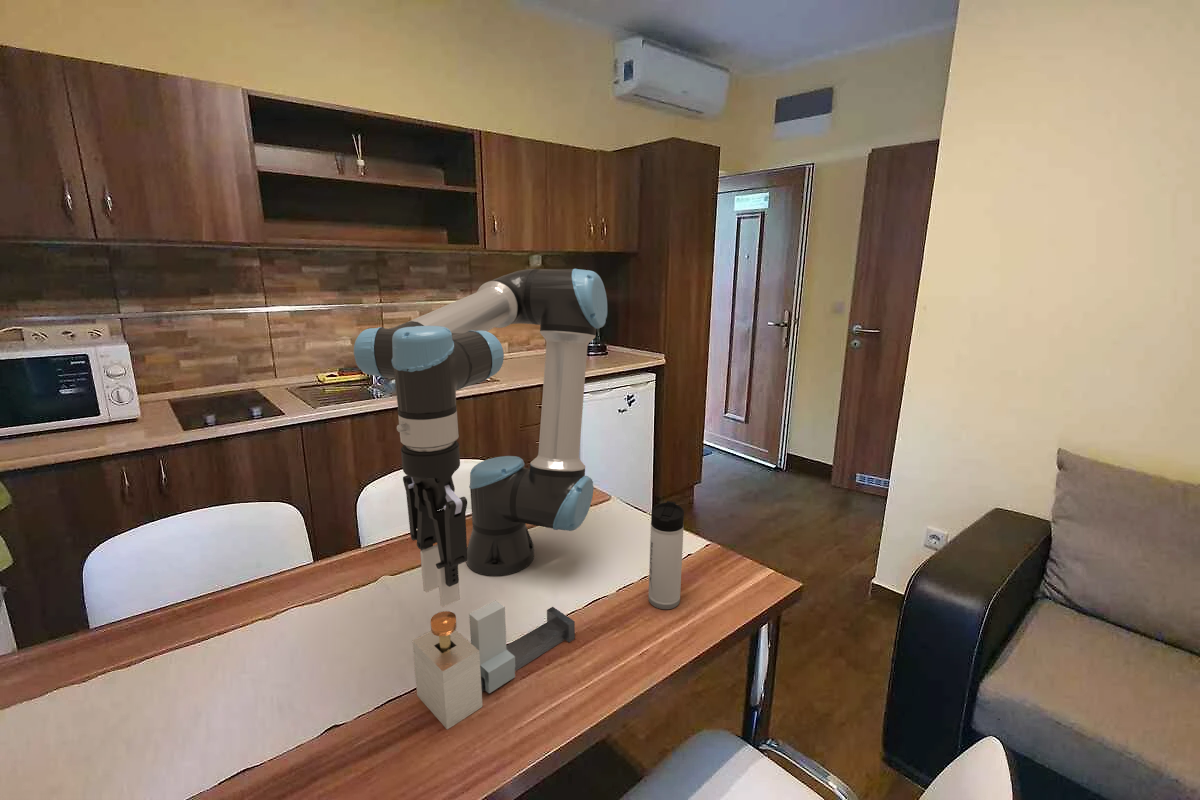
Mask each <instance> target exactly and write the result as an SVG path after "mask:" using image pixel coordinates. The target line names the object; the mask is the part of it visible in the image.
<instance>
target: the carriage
mask: <svg viewBox="0 0 1200 800" xmlns="http://www.w3.org/2000/svg"><path fill="white" fill-rule="evenodd" d="M505 608H506V606H504V605H503V604H502V603H500V602H499V601H498V600H496V599H495V600H494V601H491V602H489V603H488V604H486V605H483V606H482V607H480V608H478V609H475V610H474V611H472V612H470V613H468V615H469V617H468V618H469V619H468V620H469V630H470V631H469V632H470V635H469V636H470V643H471V644H472V645H474V646H475V647H476V648H477V649H478V650H479V654H480V671H481V676H482V677H483V678H484V679H485V692H486V693H488V694H491V693H492V692H494V691H496V690H497V689H498V688H500V687H503V686H504V685H505V684H506V683H508V682H509V681H511V680H513V679H515V678H516V671H515V656H514V655H512V654H511V653H510V652H509V651H508V650H507V649H506V646H507V631H506V611H505V610H506V609H505Z"/></svg>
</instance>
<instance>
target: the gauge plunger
mask: <svg viewBox="0 0 1200 800" xmlns="http://www.w3.org/2000/svg"><path fill="white" fill-rule="evenodd" d="M457 627H458V626H457V616H456V613H455V612H453V611H449V610H446V611H440V612H437V613H435V614H434V615H433V616H431V618H430V629H431V630H430V631H431V632H432V633H433V634H434V635H436V636H439V644H440V652H441V653H444V652H446V651H448V650H449V649H451V640H450V634H451V633H453V632H454V631H455V630H456V629H457Z"/></svg>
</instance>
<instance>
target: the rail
mask: <svg viewBox="0 0 1200 800" xmlns="http://www.w3.org/2000/svg"><path fill="white" fill-rule="evenodd" d="M575 624H576V623H575V620H573V619H571V618H570V617H569V616H567V615H566V614H564V613H563V612H562V611H560V610H559V609H557V608H556V607H554V606H551V607H550V608H548V609H546V622H544V623H542V624H541V625H540V626H538V627H536V628H535V629H532V630H531V631H529V632H527V633H526V634H524V635H522V636H521V637H519V638H517V639H515V640H513V641H512V642H511V643H509V644H508V643H507V644H506V649H507V650H508V651H509V652H510V653H511V654H512V655H514V656H515V672H516V671H518V670H519V669H521V668H523V667H525V666H526V665H527V664H529V663H531V662H532V661H534V660H535V659H537V658H538V657H541V656H542V655H544V654H545V653H547V652H549V651H550V650H552V649H553V648H555V647H556V646H557V645H559V644H561V643H563V642H564V641H566V642H568V643H570V642H572V641H574V640H575V638H576V636H575V634H576V633H575V632H576V631H575V629H576V627H575V626H576V625H575ZM450 640H451V649H449V650H448V651H446V652H444V653H441V652H440V644H439V636H436V635H434V634H433V633H432V632H431V630H430V631H429V632H426V633H424V634H422V635H420V636H418V637H416V638H414V639H413V640H412V641H411V643H412V644H411V645H412V655H413V663H414V675H415V677H414V678H415V686H416V687H415V688H416V696H417V698H418V699H419V700H420V701H421V702H422V703H423V704H424V705H425V707H427V708H428V710H430V712H431V713H432V714H433V716H434V717H435V718H436V719H437V720H438V721H439V722H440V723H441V724H442V726H443V727H444V728H445V729H446V730H447V731H448V730H449V729H450V728H452V727H454V726H455V725H457V724H458V723H460V722H462V721H463V720H464V719H466V718H467V717H469V716H471V715H472V714H474V713H475V712H477V711H479V709H482V708H483V692H486V690H485V679H484V678H483V677H482V676H481V671H480V654H479V650H478V649H477V648H476V647H475V646H474V645H472V644H471V641H469V640H468V639H467V638H465V636H464V635H462V634H461V633H460V632H459V631H458V630H456V629H455V631H454V632H453V633H451V634H450Z"/></svg>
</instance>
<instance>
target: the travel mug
mask: <svg viewBox="0 0 1200 800" xmlns="http://www.w3.org/2000/svg"><path fill="white" fill-rule="evenodd" d="M650 512H651V516H650V517H651V518H650V537H649V538H650V539H649V543H650V544H649V570H648V572H649V573H648V598H647V599H648V602H649V603H650V604H651V606H654V607H655V608H657V609H660V610H671V609H675V608H676V607H678V606H679V604H680V602H681V589H682V587H681V586H682V585H681V584H682V564H683V547H684V546H683V544H684V543H683V542H684V527H685V526H684V519H685V518H684V517H685V511H684V509H683V507H682V506H680V505H679V504H676V502H675V501H669V500H667V501H666V502H662V503H658V504H656V505H655V506H653V507H652V508H651V511H650Z"/></svg>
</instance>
